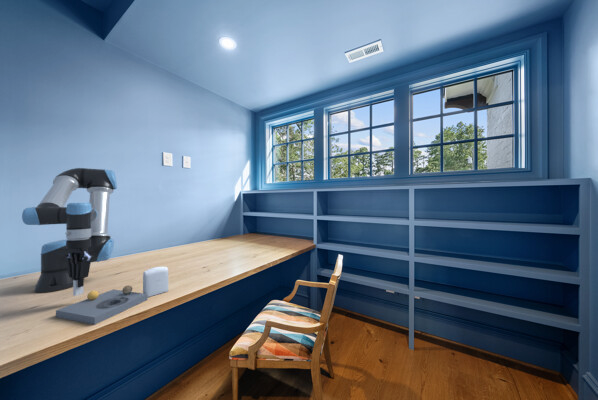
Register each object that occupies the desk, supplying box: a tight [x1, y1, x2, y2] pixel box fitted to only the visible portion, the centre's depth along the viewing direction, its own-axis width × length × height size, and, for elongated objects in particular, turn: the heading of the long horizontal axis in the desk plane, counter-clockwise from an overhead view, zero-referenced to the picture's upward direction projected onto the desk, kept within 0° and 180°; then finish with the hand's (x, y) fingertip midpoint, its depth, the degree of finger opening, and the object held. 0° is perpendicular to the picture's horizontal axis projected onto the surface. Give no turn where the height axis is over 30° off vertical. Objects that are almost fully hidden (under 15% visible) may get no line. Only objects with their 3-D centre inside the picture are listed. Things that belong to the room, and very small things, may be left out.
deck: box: [55, 289, 149, 326], centre depth 88 cm, size 20×20×2 cm
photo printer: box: [142, 266, 169, 298], centre depth 102 cm, size 10×4×12 cm, turn 140°
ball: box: [86, 290, 100, 300], centre depth 90 cm, size 4×4×4 cm
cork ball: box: [122, 285, 133, 294], centre depth 96 cm, size 4×4×4 cm
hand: (78, 294), depth 92 cm, fingers closed
